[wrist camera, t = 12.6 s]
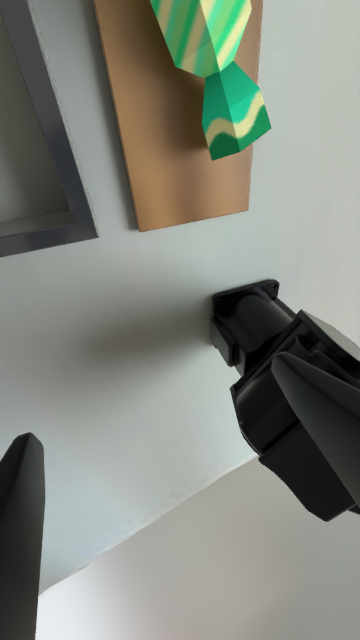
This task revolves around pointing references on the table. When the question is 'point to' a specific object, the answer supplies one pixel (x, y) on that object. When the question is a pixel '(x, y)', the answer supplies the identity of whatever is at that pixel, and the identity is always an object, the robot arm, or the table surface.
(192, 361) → the table surface
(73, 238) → the dark grey tray
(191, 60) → the candy
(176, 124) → the brown wooden board
